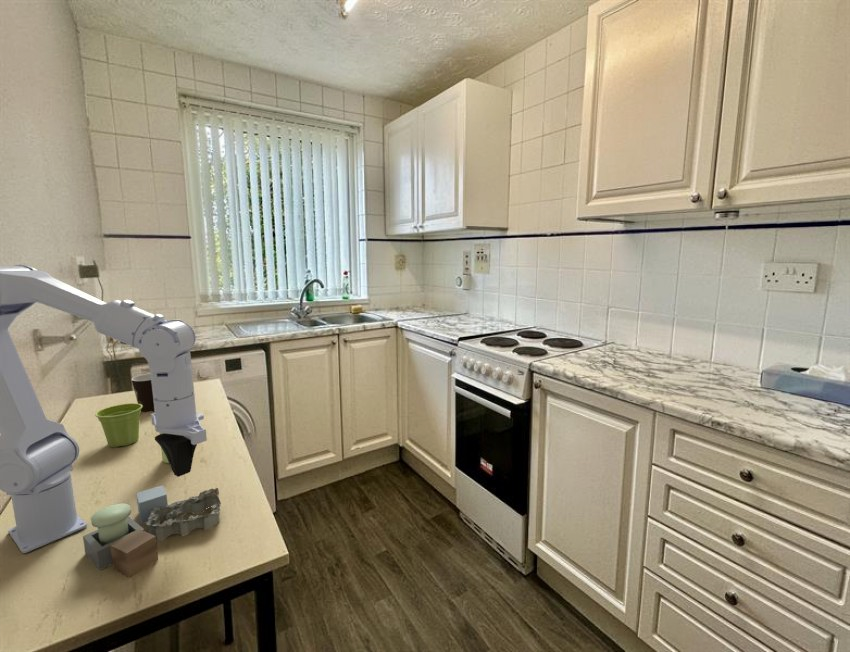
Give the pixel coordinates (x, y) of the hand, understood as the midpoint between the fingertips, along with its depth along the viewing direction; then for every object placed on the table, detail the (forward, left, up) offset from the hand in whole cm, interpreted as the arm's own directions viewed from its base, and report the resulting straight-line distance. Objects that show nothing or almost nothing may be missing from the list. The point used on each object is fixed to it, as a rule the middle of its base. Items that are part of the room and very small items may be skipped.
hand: (182, 473), depth 68 cm
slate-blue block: (-8, -2, -10) cm, 13 cm away
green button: (-3, -10, -7) cm, 12 cm away
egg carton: (0, 0, -10) cm, 10 cm away
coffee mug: (-67, +21, -10) cm, 71 cm away
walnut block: (+3, -9, -10) cm, 14 cm away
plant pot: (-47, +7, -10) cm, 48 cm away
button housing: (-3, -10, -9) cm, 14 cm away
